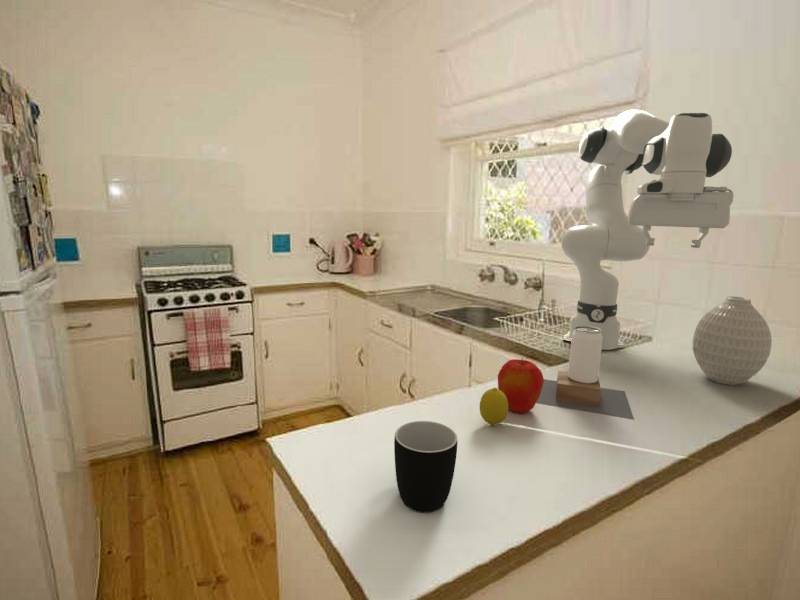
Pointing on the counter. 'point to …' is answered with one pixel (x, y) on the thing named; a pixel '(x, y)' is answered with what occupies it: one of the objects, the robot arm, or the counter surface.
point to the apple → (520, 384)
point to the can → (585, 355)
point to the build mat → (608, 405)
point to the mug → (424, 464)
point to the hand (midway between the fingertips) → (672, 246)
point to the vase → (732, 341)
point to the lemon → (493, 406)
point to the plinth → (577, 391)
